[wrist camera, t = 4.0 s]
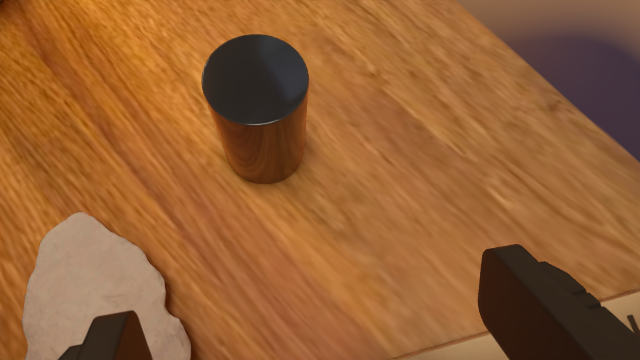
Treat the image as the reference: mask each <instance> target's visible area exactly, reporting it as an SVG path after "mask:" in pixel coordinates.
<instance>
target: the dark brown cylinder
mask: <svg viewBox="0 0 640 360" xmlns="http://www.w3.org/2000/svg"><path fill="white" fill-rule="evenodd" d="M308 88H309V74H308V69H307V67H306V64H305V62H304V60H303V58H302V57H301V56H300V54H299V53H298V52H297V51H296V50H295V49H294V48H293V47H292V46H291V45H289V44H288V43H286V42H285V41H283V40H280V39H278V38H275V37H272V36H268V35H261V34H250V35H243V36H239V37H236V38H233V39H231V40H229V41H227V42H225V43H224V44H222V45H221V46H219V47H218V48H217V49H216V50H215V51H214V52H213V53H212V54H211V55H210V57H209V58H208V60H207V62H206V64H205V66H204V69H203V73H202V89H203V93H204V96H205V99H206V102H207V104H208V107H209V110H210V113H211V115H212V118H213V121H214V123H215V126H216V129H217V132H218V134H219V137H220V140H221V143H222V145H223V148H224V151H225V154H226V156H227V159H228V161H229V164H230V165H231V167H232V168H233V170H234V171H235V172H236V173H237V174H238V175H239V176H241V177H242V178H244V179H246V180H248V181H251V182H254V183H259V184H270V183H275V182H279V181H281V180H283V179H285V178H287V177H289V176H290V175H291V174H292V173H293V172H294V171H295V170H296V169H297V168H298V167H299V165H300V163H301V161H302V159H303V155H304V147H305V133H306V118H307V103H308Z"/></svg>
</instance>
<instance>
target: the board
mask: <svg viewBox="0 0 640 360" xmlns="http://www.w3.org/2000/svg"><path fill="white" fill-rule="evenodd" d="M598 301H599V302H600V303H601V306H602V307H603V306H605V307H606V308H607V309H608V310H609V311H610V312H611V313H613V314H614V315H615V316H616V317H617V318H618V319H619V320H620V321H621V322H623V323H624V324H625V325H626V326H627V327H628V328H629V329H630V330H631V331H633V332H634V333H635V334H636V335H637V336H638V337H639V338H640V289H637V290H634V291H630V292H627V293H623V294H619V295H616V296H612V297H609V298H605V299H602V300H598ZM389 360H509V359H508V357H507V356H506V354H505V353H504V352H503V350H502V349H501V347H500V346H499V345H498V343H497V342H496V340H495V339H494V338H493V336H492V335H491V333H490V332H489V331H488V332H485V333H481V334H478V335H474V336H470V337H467V338H463V339H460V340H456V341H453V342H449V343H446V344H442V345H439V346H435V347H431V348H428V349H424V350H421V351H417V352H414V353H410V354H407V355H403V356H399V357H396V358H392V359H389Z"/></svg>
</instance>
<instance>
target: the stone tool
mask: <svg viewBox="0 0 640 360" xmlns="http://www.w3.org/2000/svg"><path fill="white" fill-rule="evenodd" d="M164 285H165V281H164V279H163V277H162V275H161V274H160V273H159V272H158V270H156V269H155V268H154V267H153V266H152V265H151V264H150V263H149V262H148V260H147V258H146V256H145V254H144V253H143V251H142V250H141V249H140V248H139V247H137V246H135V245H134V244H132V243H130V242H128V241H127V240H126V239H125V238H122V237H119V236H117V235H116V234H114V233H112V232H110V231H109V230H108V229H107V228H106V227H105V226H104V225H102V224H101V223H100V222H98V221H97V220H96V219H95V218H94V217H93V216H88V215H87V214H86V213H82V212H78V213H75V214H73V215H71V216H69V217H68V218H67V219H66V220H64V221H63V222H61V223H60V224H58V225H57V226H55V227H54V228H53V229H52V230H50V231H49V232H48V233H47V234H46V235H45V237H44V238H43V239H42V241H41V244H40V246H39V253H38V256H37V261H36V267H35V270H34V272H33V273H32V275H31V277H30V279H29V281H28V284H27V293H26V294H25V304H24V312H23V317H22V321H21V322H22V325H23V329H24V330H23V331H24V334H25V337H26V339H27V342H28V351H27V354H26V357H25V360H58V359H59V357H60V356H61V355H62V354H63V353H64V352H65V351H66V350H67V349H68V348H69V347H70V346H74V345H80V344H82V343H83V341H84V339H85V336H86V334H87V332H88V329H89V327H90V325H91V322H92V321H93V319H94V318H95V317H97V316H101V315H107V314H113V313H118V312H124V311H130V310H134V311H135V312H136V314H137V315H138V318H139V321H140V324H141V326H142V329H143V332H144V335H145V338H146V341H147V344H148V346H149V349H150V352H151V355H152V358H153V360H190V357H191V345H190V341H189V338H188V336H187V334H186V332H185V330H184V328H183V326H182V324H181V322H180V320H179V318H175V317H173V316H172V315H170V314H169V313H168V311H167V309H166V307H165V298H166V290H165V286H164Z"/></svg>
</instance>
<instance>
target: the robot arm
mask: <svg viewBox="0 0 640 360" xmlns="http://www.w3.org/2000/svg"><path fill="white" fill-rule="evenodd" d="M478 308H479V312H480V315H481V318H482V320H483V322H484V324H485V326H486V328H487V329H488V330H489V332H490V333H491V335H492V336H493V338H494V339H495V340H496V342H497V343H498V345H499V346H500V347H501V349H502V350H503V352H504V353H505V354H506V356H507V357H508V359H509V360H640V338H639V337H638V336H637V335H636V334H635V333H634V332H633V331H631V330H630V329H629V328H628V327H627V326H626V325H625V324H624V323H623V322H621V321H620V320H619V319H618V318H617V317H616V316H615V315H614V314H613V313H611V312H610V311H609V310H608V309H607V308H606V307H605V306H603V307H602V306H601V303H600V302H599V301H598V300H597V299H596V298H595V297H594V296H593V295H591V294H590V293H587V292H586V289H585V288H584V287H583V286H581V285H580V284H579V283H578V282H577V281H576V280H575V279H574V278H573V277H571V276H570V275H569V274H568V273H566V272H564V271H562V270H560V269H559V268H557V267H555V266H553V265H551V264H549V263H547V262H545V261H544V262H538V261H537V260H536V259H535V258H534V257H533V256H532V255H531V254H530V253H529V252H528V251H527V250H526V249H524V248H523V247H522V246H521V245H518V244H513V245H508V246H502V247H496V248H491V249H486V250H485V251H484V252H483V255H482V262H481V272H480V282H479V292H478ZM58 360H153V358H152V355H151V352H150V349H149V346H148V344H147V341H146V338H145V335H144V332H143V329H142V326H141V324H140V321H139V318H138V315H137V314H136V312H135V311H134V310H130V311H124V312H118V313H113V314H107V315H101V316H97V317H95V318H94V319H93V321H92V322H91V325H90V327H89V329H88V332H87V334H86V336H85V339H84V341H83V343H82V344H80V345H74V346H70V347H69V348H68V349H67V350H66V351H65V352H64V353H63V354H62V355H61V356H60V357H59V359H58Z"/></svg>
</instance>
